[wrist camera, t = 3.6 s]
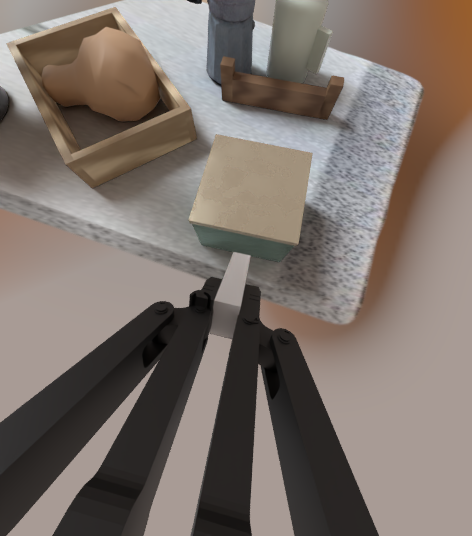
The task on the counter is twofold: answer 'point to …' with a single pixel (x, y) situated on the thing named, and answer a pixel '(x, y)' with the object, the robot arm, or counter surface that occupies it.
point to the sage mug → (297, 39)
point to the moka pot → (229, 34)
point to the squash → (106, 77)
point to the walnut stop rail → (278, 92)
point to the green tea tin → (251, 198)
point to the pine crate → (120, 145)
